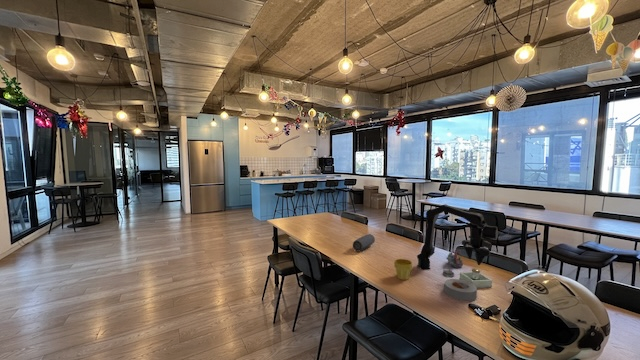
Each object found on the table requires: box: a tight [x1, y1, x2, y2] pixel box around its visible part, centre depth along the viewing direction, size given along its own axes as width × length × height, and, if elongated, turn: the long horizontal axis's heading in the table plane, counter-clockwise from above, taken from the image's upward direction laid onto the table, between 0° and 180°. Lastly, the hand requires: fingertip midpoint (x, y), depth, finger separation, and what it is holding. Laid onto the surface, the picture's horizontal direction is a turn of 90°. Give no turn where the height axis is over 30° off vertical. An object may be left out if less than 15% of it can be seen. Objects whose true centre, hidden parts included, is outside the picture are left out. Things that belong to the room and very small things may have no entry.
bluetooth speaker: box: [352, 233, 376, 252], centre depth 212 cm, size 23×9×10 cm, turn 144°
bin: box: [459, 271, 493, 289], centre depth 155 cm, size 12×12×4 cm
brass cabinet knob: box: [471, 268, 481, 281], centre depth 154 cm, size 5×5×7 cm
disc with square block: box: [442, 269, 455, 278], centre depth 166 cm, size 6×6×2 cm
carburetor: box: [445, 249, 464, 268], centre depth 181 cm, size 11×11×12 cm
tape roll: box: [443, 278, 478, 303], centre depth 142 cm, size 15×15×5 cm
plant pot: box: [393, 258, 413, 281], centre depth 161 cm, size 10×10×10 cm
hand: (474, 261), depth 155 cm, fingers open, 9 cm apart
